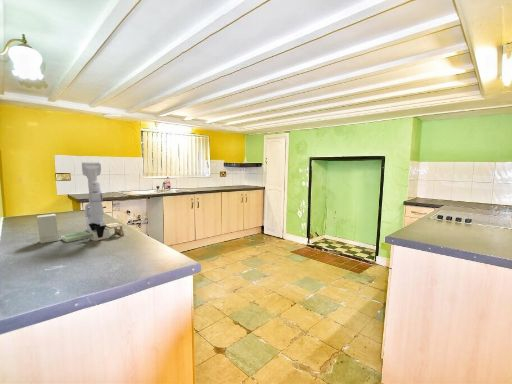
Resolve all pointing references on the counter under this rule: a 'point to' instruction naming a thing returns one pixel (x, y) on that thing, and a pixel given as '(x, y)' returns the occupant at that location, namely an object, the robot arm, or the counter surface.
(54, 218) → the skincare box
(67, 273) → the counter surface
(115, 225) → the beige block
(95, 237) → the white block with post
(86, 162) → the robot arm
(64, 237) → the tray
